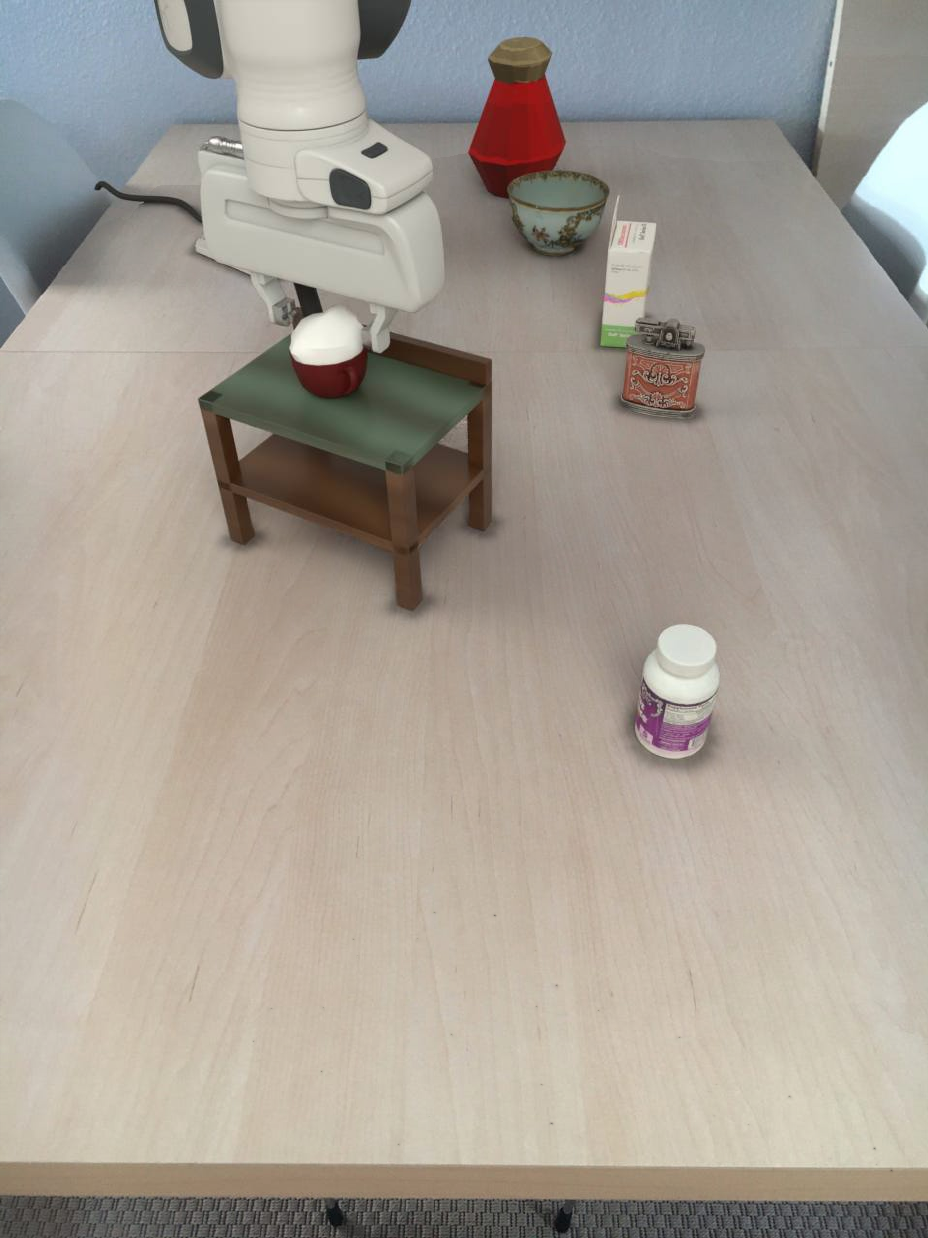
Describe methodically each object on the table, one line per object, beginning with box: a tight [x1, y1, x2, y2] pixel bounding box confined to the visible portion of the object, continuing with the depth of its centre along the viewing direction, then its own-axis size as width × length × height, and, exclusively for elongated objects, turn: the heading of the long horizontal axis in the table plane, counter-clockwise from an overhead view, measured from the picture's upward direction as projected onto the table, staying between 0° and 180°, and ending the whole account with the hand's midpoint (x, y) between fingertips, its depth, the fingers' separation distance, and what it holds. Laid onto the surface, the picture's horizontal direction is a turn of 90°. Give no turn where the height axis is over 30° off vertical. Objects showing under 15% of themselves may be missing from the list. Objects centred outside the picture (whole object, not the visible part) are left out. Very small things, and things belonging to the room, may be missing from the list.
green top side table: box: [197, 306, 493, 612], centre depth 86 cm, size 14×20×17 cm
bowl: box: [507, 170, 610, 257], centre depth 134 cm, size 14×13×8 cm
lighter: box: [619, 317, 706, 419], centre depth 103 cm, size 8×3×10 cm, turn 71°
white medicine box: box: [599, 194, 657, 349], centre depth 114 cm, size 9×5×15 cm, turn 168°
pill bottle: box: [634, 623, 721, 760], centre depth 71 cm, size 5×5×10 cm
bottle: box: [467, 36, 567, 199], centre depth 146 cm, size 16×14×20 cm
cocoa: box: [289, 282, 368, 398], centre depth 78 cm, size 10×6×12 cm, turn 8°
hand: (329, 335), depth 79 cm, fingers open, 8 cm apart
